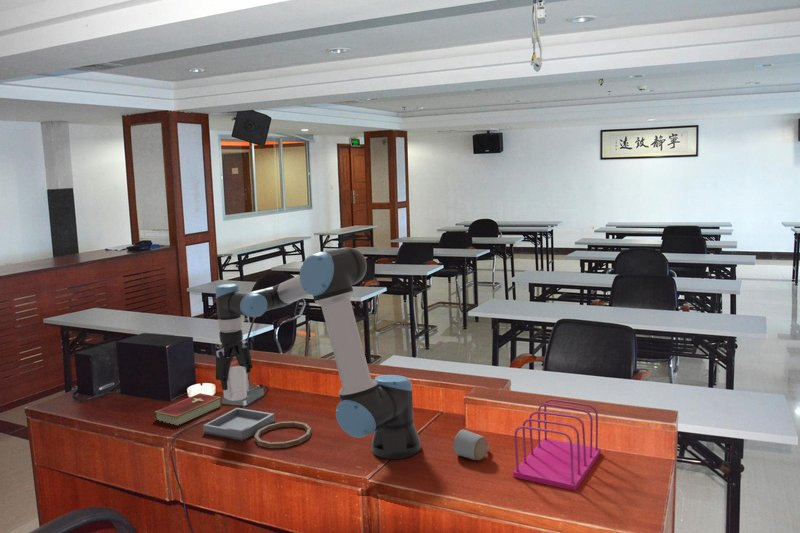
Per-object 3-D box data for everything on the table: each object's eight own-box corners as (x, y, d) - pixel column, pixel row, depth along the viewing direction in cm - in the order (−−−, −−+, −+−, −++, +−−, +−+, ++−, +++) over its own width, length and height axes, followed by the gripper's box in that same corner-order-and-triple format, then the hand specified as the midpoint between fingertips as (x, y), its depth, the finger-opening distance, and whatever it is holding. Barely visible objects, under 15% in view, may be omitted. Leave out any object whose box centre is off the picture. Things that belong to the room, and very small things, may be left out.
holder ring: (305, 446, 209) (305, 442, 209) (249, 449, 210) (249, 444, 210) (314, 424, 227) (314, 420, 227) (262, 426, 228) (262, 422, 228)
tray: (274, 421, 232) (274, 413, 231) (242, 440, 217) (241, 432, 216) (237, 415, 239) (237, 407, 239) (203, 433, 225) (203, 425, 224)
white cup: (224, 395, 229) (221, 367, 227) (247, 392, 231) (245, 364, 230) (225, 403, 222) (222, 374, 220) (249, 399, 224) (246, 371, 222)
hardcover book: (155, 421, 239) (154, 410, 238) (200, 402, 257) (199, 392, 256) (177, 427, 233) (176, 415, 232) (222, 407, 250) (221, 396, 250)
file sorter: (513, 478, 182) (511, 424, 180) (544, 443, 203) (543, 394, 200) (575, 491, 173) (574, 435, 170) (601, 453, 194) (600, 403, 191)
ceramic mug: (476, 465, 190) (475, 440, 189) (453, 458, 196) (452, 433, 195) (495, 452, 199) (495, 428, 197) (472, 446, 204) (472, 422, 203)
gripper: (244, 321, 233) (250, 383, 237) (199, 336, 216) (206, 402, 220) (260, 323, 229) (265, 386, 233) (215, 338, 212) (222, 406, 216)
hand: (236, 394), depth 226 cm, fingers closed on white cup, 8 cm apart
